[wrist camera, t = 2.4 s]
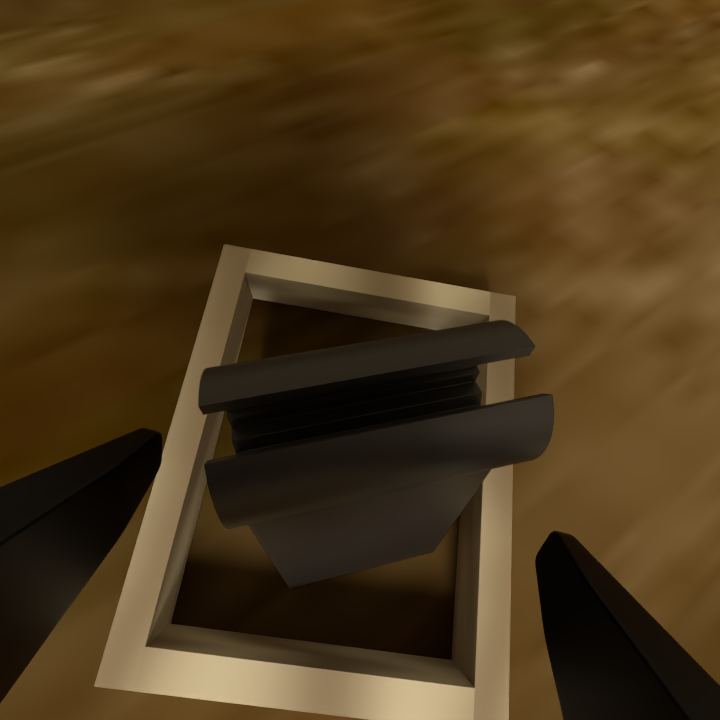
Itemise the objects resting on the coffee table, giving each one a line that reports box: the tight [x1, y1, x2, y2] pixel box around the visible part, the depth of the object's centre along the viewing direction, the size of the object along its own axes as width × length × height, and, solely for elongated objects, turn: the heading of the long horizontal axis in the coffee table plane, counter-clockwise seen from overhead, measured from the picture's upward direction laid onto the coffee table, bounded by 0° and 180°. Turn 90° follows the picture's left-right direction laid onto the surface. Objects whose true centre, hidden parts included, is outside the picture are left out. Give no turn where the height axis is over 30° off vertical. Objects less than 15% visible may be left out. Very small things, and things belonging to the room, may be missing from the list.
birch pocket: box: [94, 244, 516, 720], centre depth 17 cm, size 13×16×2 cm
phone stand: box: [198, 320, 554, 589], centre depth 12 cm, size 9×6×12 cm, turn 12°
